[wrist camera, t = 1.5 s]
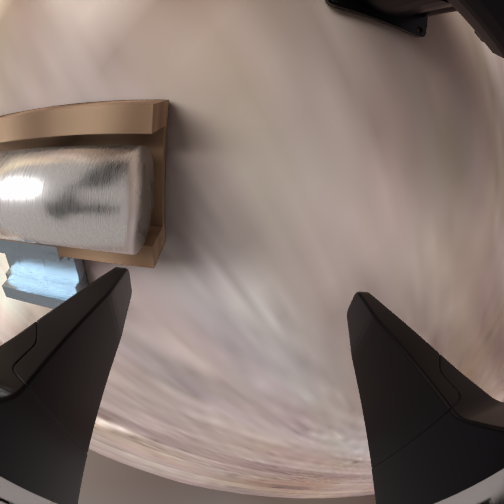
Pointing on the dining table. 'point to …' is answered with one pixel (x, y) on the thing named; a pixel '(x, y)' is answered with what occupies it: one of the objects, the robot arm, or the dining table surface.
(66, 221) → the silver metal tumbler
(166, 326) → the dining table surface
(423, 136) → the dining table surface
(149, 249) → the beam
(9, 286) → the v block
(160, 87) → the dining table surface
